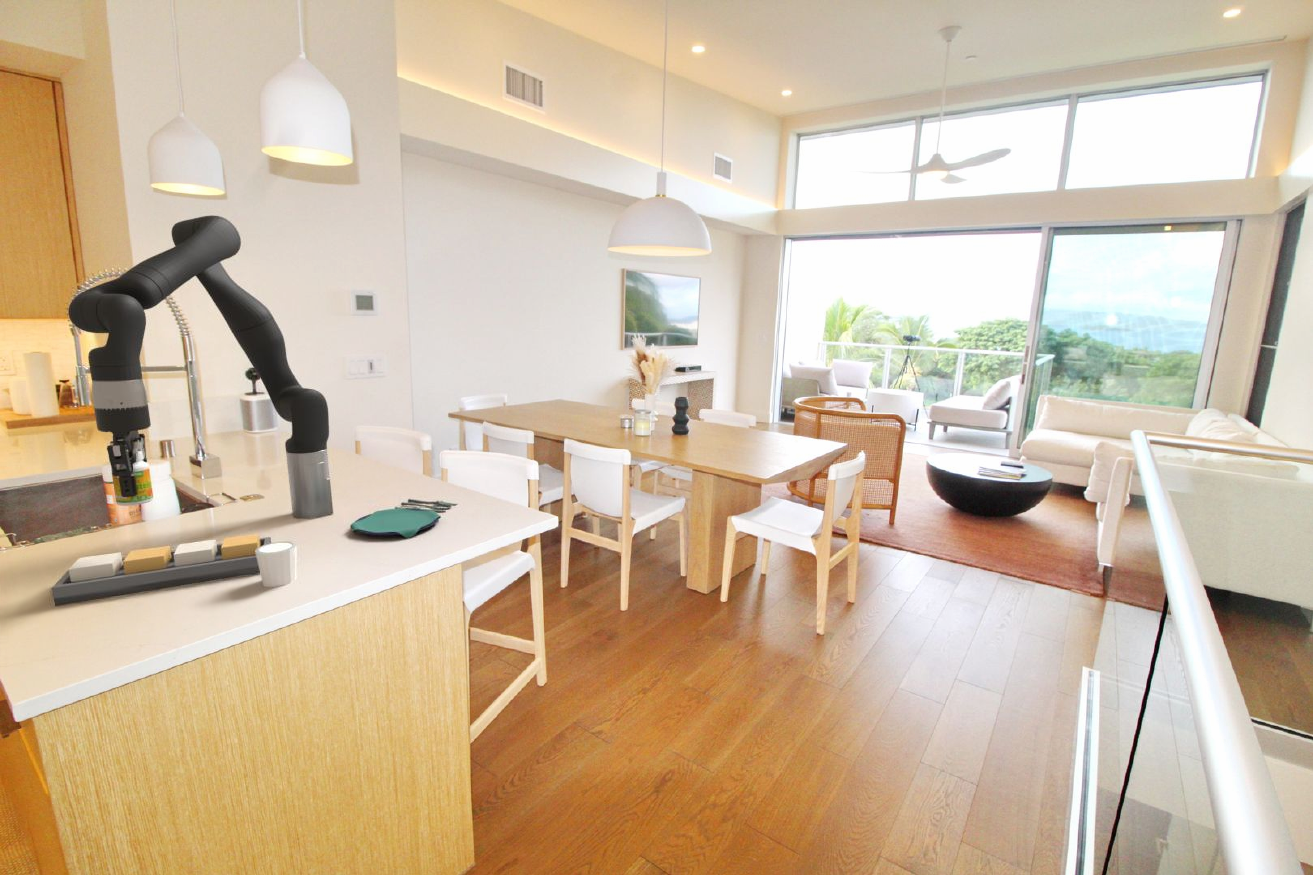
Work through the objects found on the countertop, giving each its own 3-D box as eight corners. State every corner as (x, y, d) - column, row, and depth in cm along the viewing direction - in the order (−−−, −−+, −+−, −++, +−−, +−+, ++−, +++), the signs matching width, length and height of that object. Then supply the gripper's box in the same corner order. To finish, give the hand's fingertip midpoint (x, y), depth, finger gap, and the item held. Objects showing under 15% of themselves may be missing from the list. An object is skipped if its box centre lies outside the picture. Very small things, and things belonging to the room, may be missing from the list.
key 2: (217, 550, 124) (215, 539, 123) (213, 560, 119) (211, 549, 118) (180, 556, 121) (179, 544, 120) (175, 566, 116) (173, 554, 115)
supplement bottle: (131, 507, 111) (123, 456, 109) (108, 505, 112) (100, 454, 110) (161, 499, 116) (154, 450, 114) (139, 497, 117) (131, 448, 115)
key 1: (260, 544, 127) (259, 533, 127) (258, 554, 122) (257, 542, 122) (226, 549, 125) (224, 538, 124) (222, 559, 119) (221, 547, 119)
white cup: (270, 573, 120) (267, 541, 119) (306, 573, 121) (303, 540, 119) (251, 588, 113) (246, 554, 112) (289, 587, 114) (285, 553, 113)
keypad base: (272, 551, 131) (270, 536, 131) (269, 571, 121) (267, 555, 121) (77, 581, 116) (74, 564, 115) (54, 606, 106) (51, 587, 105)
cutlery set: (334, 538, 141) (333, 528, 140) (403, 503, 170) (403, 495, 170) (413, 544, 138) (413, 534, 138) (470, 507, 167) (470, 499, 167)
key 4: (122, 564, 116) (120, 552, 116) (114, 575, 111) (112, 563, 111) (81, 570, 113) (79, 557, 113) (71, 582, 108) (68, 569, 108)
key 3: (171, 557, 120) (169, 545, 120) (165, 568, 115) (163, 555, 115) (132, 563, 117) (130, 550, 117) (124, 574, 112) (122, 561, 112)
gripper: (137, 408, 106) (150, 499, 109) (156, 399, 119) (167, 481, 122) (80, 410, 103) (96, 504, 106) (106, 400, 115) (119, 485, 118)
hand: (134, 492), depth 114 cm, fingers closed on supplement bottle, 5 cm apart
